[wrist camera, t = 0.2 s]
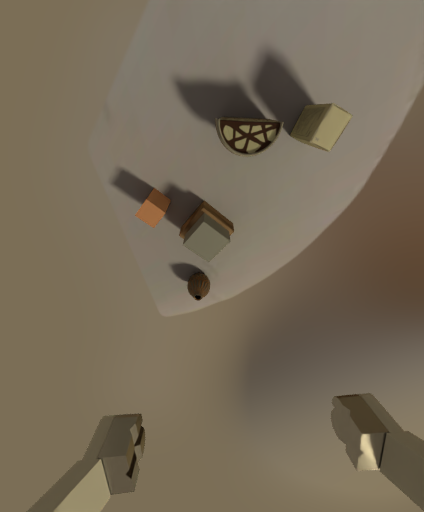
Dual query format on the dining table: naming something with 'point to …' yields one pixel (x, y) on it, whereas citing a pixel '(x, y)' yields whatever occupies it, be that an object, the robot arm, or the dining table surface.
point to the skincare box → (321, 125)
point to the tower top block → (206, 237)
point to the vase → (198, 286)
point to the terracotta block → (153, 208)
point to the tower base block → (211, 212)
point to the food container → (247, 134)
